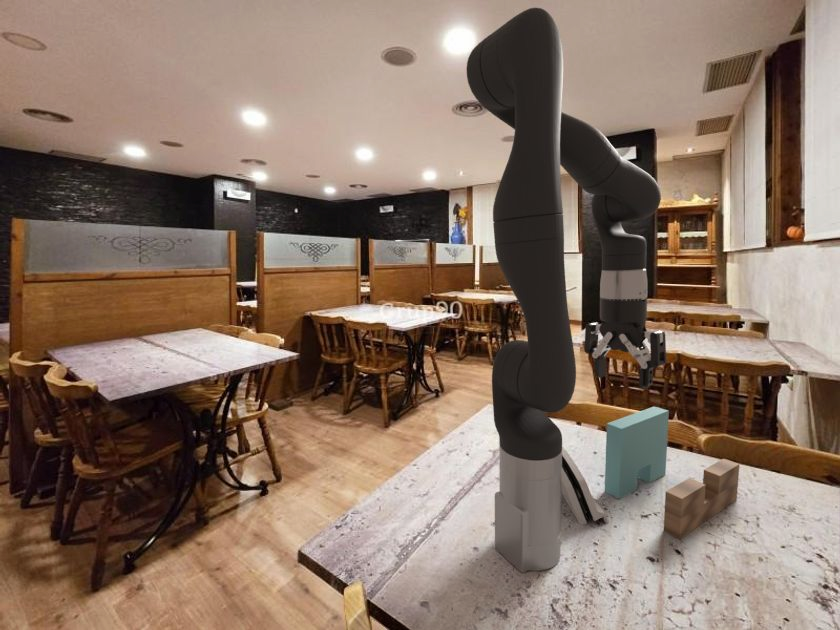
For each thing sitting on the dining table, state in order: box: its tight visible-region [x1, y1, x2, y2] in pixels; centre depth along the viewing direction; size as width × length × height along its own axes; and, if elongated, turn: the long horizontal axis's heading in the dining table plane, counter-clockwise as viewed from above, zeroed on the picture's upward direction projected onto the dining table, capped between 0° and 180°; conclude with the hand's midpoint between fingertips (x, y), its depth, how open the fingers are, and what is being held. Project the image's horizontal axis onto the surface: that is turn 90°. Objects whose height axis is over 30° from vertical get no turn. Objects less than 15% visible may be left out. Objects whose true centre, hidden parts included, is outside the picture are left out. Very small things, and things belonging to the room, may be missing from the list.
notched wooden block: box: [663, 458, 740, 540], centre depth 69 cm, size 20×2×7 cm, turn 120°
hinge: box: [561, 446, 609, 525], centre depth 75 cm, size 17×5×10 cm, turn 179°
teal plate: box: [604, 406, 670, 500], centre depth 79 cm, size 16×3×14 cm, turn 120°
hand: (621, 382), depth 73 cm, fingers open, 8 cm apart
